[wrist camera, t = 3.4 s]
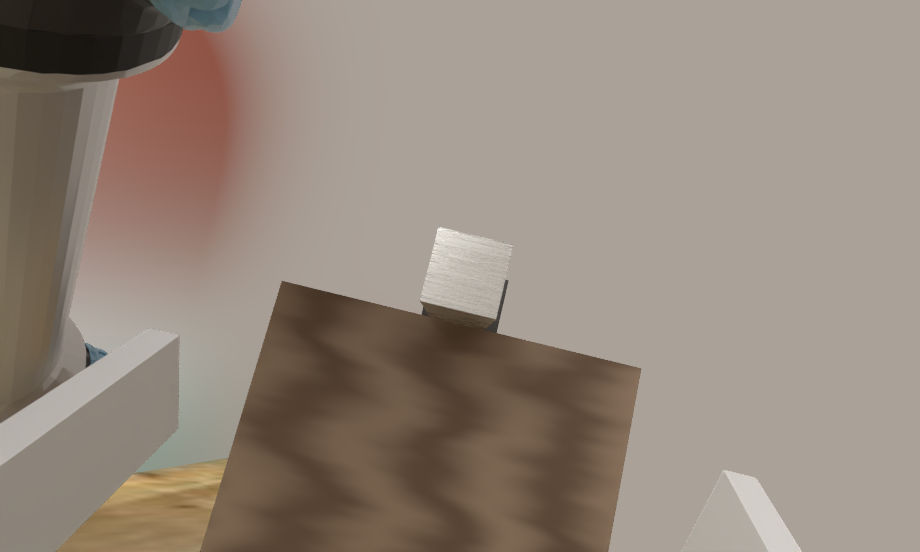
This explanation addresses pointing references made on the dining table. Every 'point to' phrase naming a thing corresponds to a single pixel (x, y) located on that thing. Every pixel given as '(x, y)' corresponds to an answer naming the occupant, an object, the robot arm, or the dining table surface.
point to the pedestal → (419, 438)
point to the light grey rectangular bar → (466, 280)
